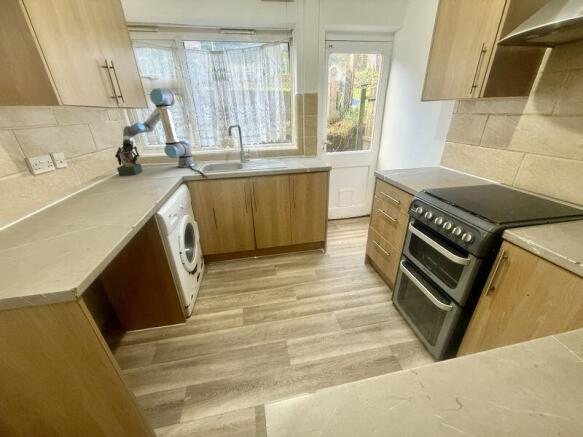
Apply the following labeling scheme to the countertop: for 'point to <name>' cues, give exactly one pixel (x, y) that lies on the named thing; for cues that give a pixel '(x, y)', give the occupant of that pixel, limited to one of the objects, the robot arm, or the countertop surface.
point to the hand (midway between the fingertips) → (127, 163)
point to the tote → (129, 170)
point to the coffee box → (127, 159)
